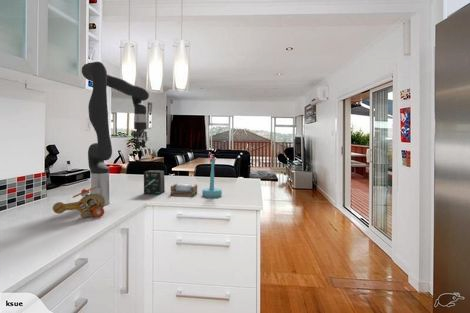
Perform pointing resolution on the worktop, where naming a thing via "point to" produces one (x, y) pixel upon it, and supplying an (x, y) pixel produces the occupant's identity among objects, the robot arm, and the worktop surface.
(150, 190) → the tampon box
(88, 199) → the toy helicopter
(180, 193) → the roll cradle
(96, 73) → the robot arm
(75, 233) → the worktop surface
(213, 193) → the blue towel holder stand
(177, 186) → the paper roll
